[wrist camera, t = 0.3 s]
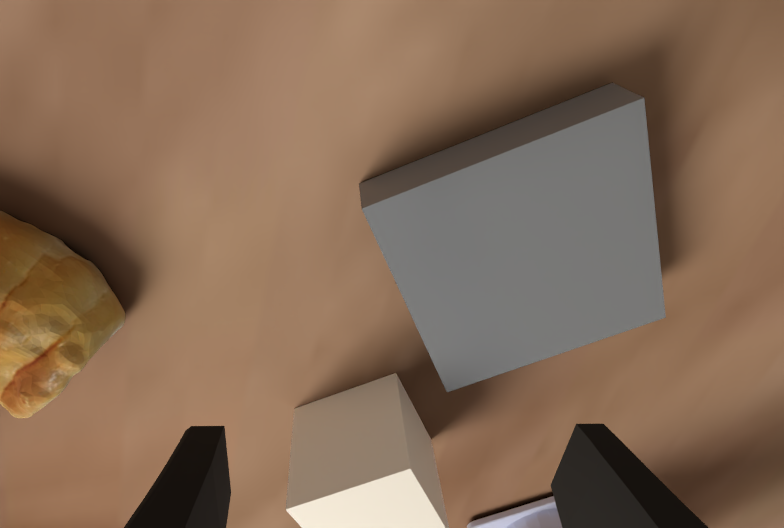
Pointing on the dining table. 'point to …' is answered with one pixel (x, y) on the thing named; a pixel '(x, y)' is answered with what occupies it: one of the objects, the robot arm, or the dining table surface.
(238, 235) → the dining table surface
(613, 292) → the slate stand
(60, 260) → the pastry
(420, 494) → the ivory cube
